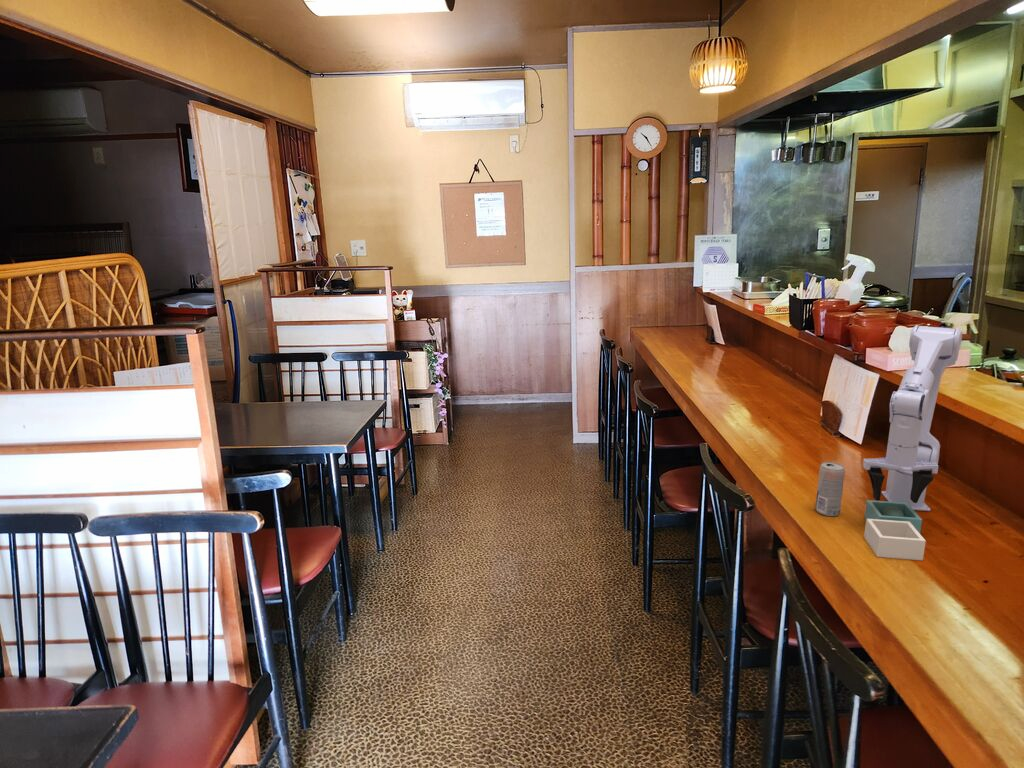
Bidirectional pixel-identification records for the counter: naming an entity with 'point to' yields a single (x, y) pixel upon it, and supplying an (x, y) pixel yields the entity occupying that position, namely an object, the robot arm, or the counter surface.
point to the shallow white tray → (894, 539)
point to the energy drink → (830, 489)
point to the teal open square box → (876, 507)
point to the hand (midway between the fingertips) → (894, 499)
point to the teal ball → (892, 512)
